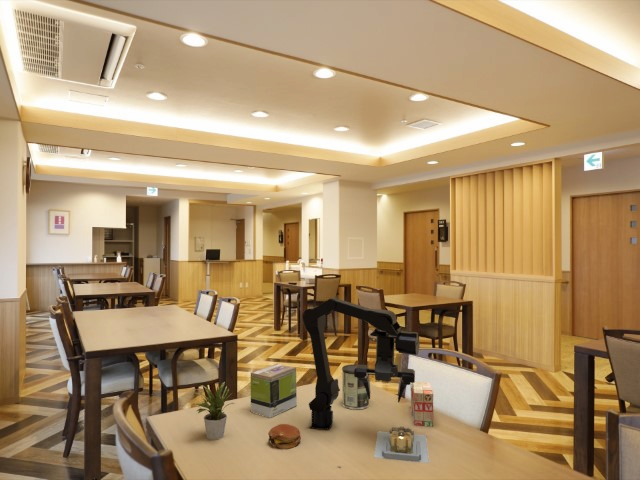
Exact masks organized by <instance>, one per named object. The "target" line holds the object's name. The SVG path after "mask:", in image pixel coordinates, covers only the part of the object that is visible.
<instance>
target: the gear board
mask: <svg viewBox="0 0 640 480" xmlns="http://www.w3.org/2000/svg"><path fill="white" fill-rule="evenodd" d="M373 458H374V459H383V460H393V461H394V460H395V461H404V462H413V463H424V464H425V463H426V464H430V457H429V449H428V440H427V435H426V434H425V435H424V434H416V433H415V434H414V441H413V453H411V454H405V453H395V452H391V451H390V431H380V430H379V431H377V435H376V442H375V449H374V455H373Z"/></svg>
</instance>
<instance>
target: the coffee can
mask: <svg viewBox="0 0 640 480" xmlns="http://www.w3.org/2000/svg"><path fill="white" fill-rule="evenodd" d="M357 365H358V364H346V365H344V366H342V367H341V370H342V400H341V401H342V404H341V405H342V406H343V407H344V408H346V409H349V410H365V409H367V408H368V407H369V406H370V402H369V401H370V399H368V396H367V392H366V389H365V386H364V384H363V382H362V381H361V380H358V378H357V377H354V370H355V368H356V366H357Z"/></svg>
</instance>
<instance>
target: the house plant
mask: <svg viewBox="0 0 640 480" xmlns="http://www.w3.org/2000/svg"><path fill="white" fill-rule="evenodd" d="M225 383H226V382H225V381H224V382H222V383H221V384H220V385H218V386H217V388H216V390H215V394H213V393H212V390H211V389H209V388H207V387H206V386H205V385H201V386H202V387H203V388H204V389H205V391H206V393H207V396H208V397H207V396H205V395H204V394H202V393H199V392H196V395H198V396H202V397H203V398H202V400H203V402H202V403H201V402H200V403H199V402H198V403H197V402H196V403H193V406H194V408H195V407H197V408H198V409H197V410H196V412H197V414H200V413H202V412H207V414H205V415H204V416H203V419H204V420H203V421H204V427H205V432H206V433H205V434H206V438H207V439H208V440H212V441H216V440H219V439H222V438H224V435H225V430H226V425H227V419H228V418H227V417H228V415H227V413H226V412H225V411H223V410H225V408H226V407H228V406H229V405H233V404H235V405H236V403H235V402H231V403H228V404H226V405H225V402H226V401H227V400H228V398H229V397H230V396H231V395H232V393H230V394H229V391H230V388H228V389H227V387H228V385H226V384H225ZM225 385H226V386H225ZM224 386H225V387H224ZM223 389H224V390H223ZM222 392H223V393H222ZM228 394H229V395H228ZM227 395H228V396H227ZM224 405H225V406H224Z"/></svg>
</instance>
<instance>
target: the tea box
mask: <svg viewBox="0 0 640 480" xmlns="http://www.w3.org/2000/svg"><path fill="white" fill-rule="evenodd" d="M297 401H298V398H297V368H296V366H295V367H294V366H290V365H283V364H280V363H279V364H278V363H276V364H272V365H270V366H267V367H263V368H260V369H258V370H254V371H251V372H250V412H251V413H252V412H254V413H253V414H255V413H257V414H256V415H259V414H260V415H259V416H262V415H263V417H265V416H266V418H269V419H271V418H273V417H275V416H277V415H279V414H281V413H283V412H286V411H288V410H289V409H292V408H294V407H296V406H297V404H298V403H297Z"/></svg>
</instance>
